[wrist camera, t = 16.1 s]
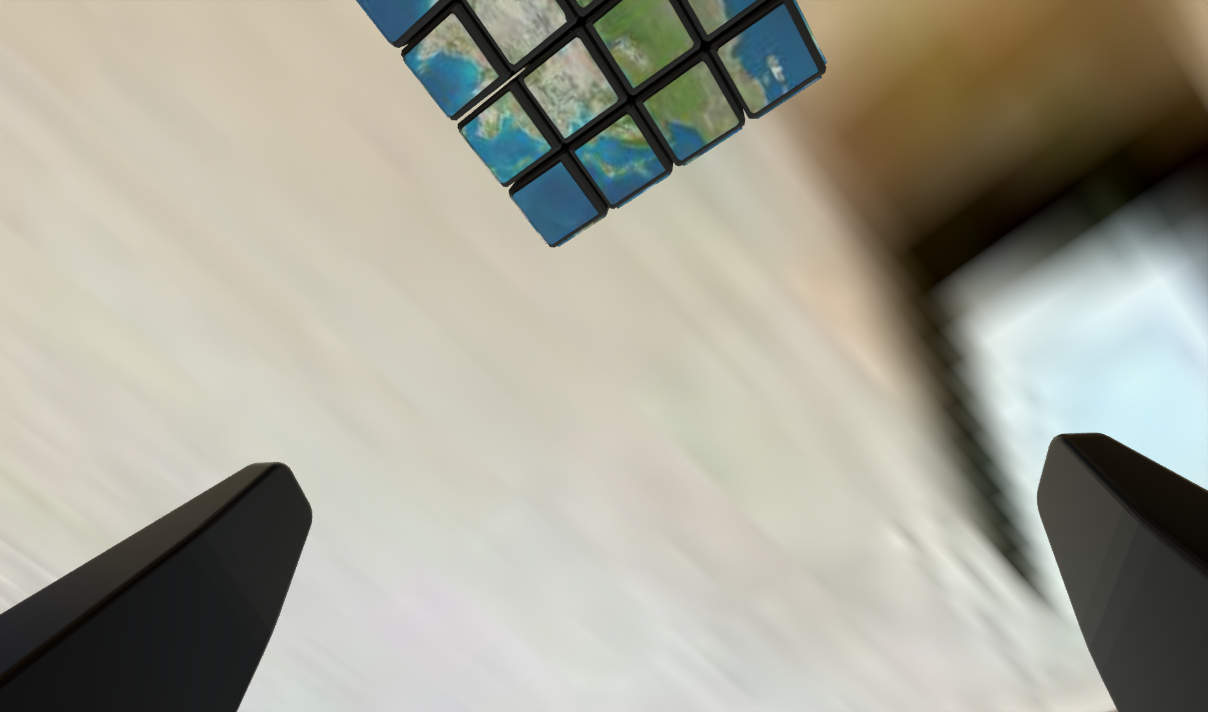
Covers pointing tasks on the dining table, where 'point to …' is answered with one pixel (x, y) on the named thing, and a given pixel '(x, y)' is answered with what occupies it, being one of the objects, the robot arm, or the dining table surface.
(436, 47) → the puzzle
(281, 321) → the dining table surface
